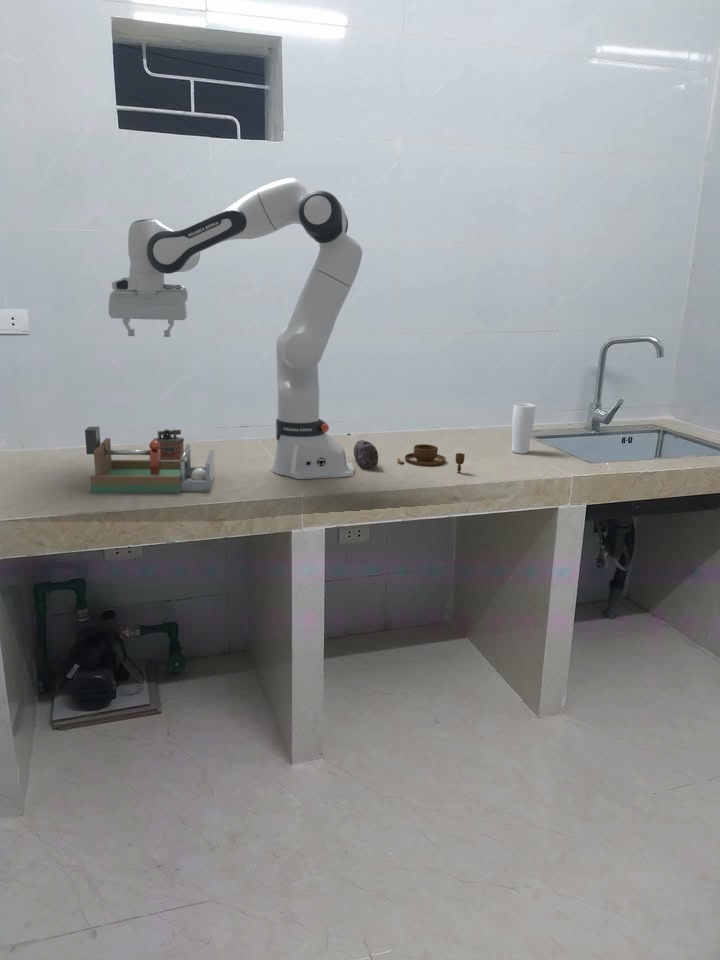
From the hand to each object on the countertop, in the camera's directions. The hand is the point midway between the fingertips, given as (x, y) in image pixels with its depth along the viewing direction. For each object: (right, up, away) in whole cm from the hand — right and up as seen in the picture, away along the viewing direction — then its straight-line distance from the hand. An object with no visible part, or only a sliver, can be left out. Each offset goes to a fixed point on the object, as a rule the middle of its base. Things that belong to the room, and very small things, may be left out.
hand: (149, 336), depth 201 cm
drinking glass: (+107, -30, +32) cm, 116 cm away
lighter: (+5, -35, +3) cm, 35 cm away
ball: (+16, -38, -13) cm, 43 cm away
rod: (-2, -37, -16) cm, 40 cm away
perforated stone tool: (+58, -35, +12) cm, 69 cm away
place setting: (+77, -35, +13) cm, 85 cm away
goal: (+16, -40, -13) cm, 45 cm away
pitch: (+2, -40, -14) cm, 42 cm away
